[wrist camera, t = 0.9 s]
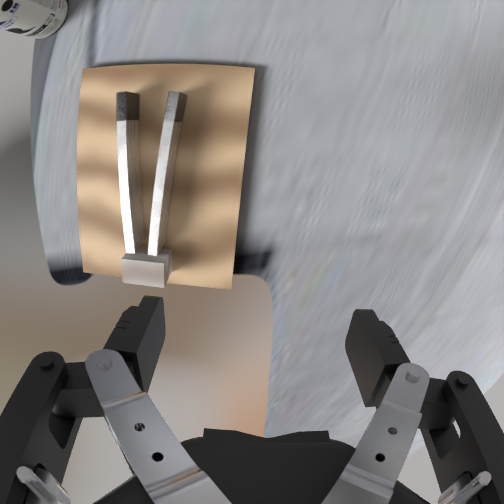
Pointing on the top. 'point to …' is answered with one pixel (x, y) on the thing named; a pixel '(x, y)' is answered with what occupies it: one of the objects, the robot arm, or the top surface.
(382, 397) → the robot arm
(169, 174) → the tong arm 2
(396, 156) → the top surface
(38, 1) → the spray can
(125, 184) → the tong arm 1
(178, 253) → the board
